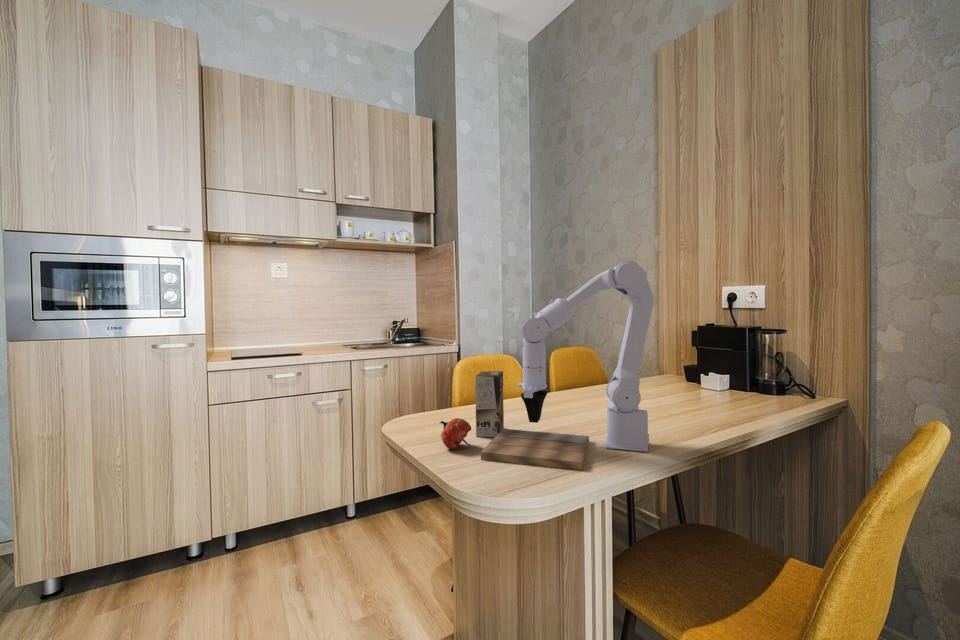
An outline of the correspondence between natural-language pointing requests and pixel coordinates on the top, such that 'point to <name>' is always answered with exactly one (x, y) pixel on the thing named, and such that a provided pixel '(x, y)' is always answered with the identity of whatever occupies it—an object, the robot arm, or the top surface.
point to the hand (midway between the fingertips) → (534, 421)
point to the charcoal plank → (545, 436)
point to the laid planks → (536, 452)
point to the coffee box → (489, 404)
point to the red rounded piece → (455, 432)
